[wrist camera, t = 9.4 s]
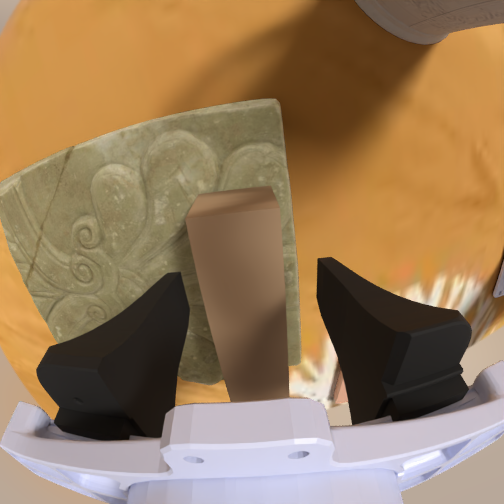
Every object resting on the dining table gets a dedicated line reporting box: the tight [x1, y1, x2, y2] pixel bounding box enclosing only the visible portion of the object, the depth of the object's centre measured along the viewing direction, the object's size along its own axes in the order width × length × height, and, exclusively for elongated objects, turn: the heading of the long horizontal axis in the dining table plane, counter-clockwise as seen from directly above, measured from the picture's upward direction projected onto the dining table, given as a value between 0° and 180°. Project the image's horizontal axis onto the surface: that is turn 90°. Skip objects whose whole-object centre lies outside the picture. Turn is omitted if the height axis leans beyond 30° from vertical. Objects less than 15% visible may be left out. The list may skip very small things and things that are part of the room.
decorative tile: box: [0, 99, 301, 385], centre depth 18 cm, size 19×20×4 cm
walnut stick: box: [185, 186, 289, 402], centre depth 15 cm, size 4×12×4 cm, turn 6°
